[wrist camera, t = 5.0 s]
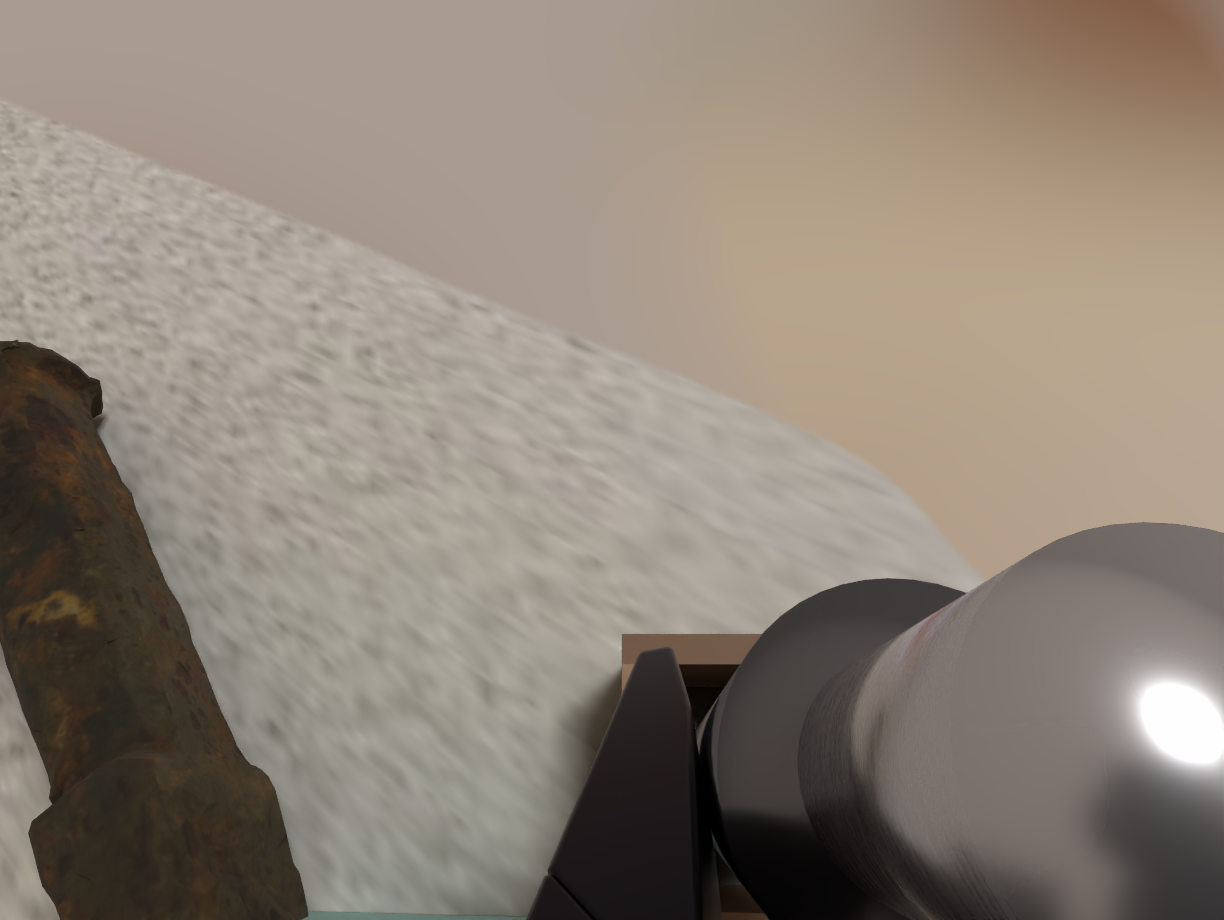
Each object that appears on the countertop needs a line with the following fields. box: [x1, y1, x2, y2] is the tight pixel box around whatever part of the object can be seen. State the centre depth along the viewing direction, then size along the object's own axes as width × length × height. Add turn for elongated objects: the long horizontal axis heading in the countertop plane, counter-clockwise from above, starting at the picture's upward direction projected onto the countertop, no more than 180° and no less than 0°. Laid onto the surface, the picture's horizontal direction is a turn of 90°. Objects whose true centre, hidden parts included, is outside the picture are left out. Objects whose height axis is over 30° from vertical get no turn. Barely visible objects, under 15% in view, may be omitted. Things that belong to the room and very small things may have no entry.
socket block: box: [622, 634, 769, 920], centre depth 14 cm, size 5×5×4 cm
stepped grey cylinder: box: [695, 522, 1224, 920], centre depth 8 cm, size 3×3×13 cm
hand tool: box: [0, 340, 309, 920], centre depth 16 cm, size 19×4×5 cm, turn 36°
